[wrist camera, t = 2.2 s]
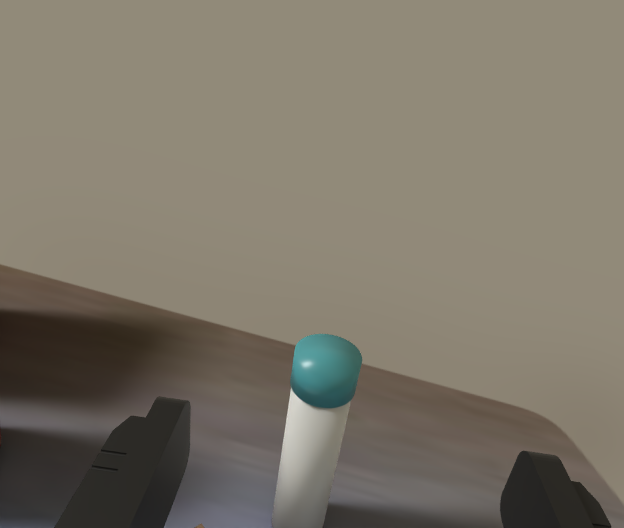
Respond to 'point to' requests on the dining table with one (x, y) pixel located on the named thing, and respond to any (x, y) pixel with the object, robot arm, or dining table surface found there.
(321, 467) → the marker
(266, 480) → the dining table surface
